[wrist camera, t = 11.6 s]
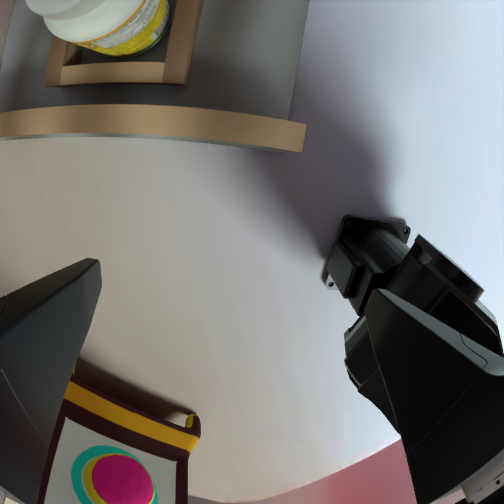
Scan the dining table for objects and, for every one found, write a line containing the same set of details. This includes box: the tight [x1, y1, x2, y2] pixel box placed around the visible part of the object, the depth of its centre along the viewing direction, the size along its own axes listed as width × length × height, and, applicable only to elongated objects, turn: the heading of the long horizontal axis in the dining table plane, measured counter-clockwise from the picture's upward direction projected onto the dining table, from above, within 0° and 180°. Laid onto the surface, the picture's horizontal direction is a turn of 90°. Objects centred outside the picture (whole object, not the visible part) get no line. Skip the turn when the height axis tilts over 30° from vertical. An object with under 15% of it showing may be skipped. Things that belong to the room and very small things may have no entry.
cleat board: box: [0, 0, 309, 153], centre depth 13 cm, size 22×14×6 cm, turn 81°
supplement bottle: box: [26, 0, 171, 58], centre depth 10 cm, size 5×5×10 cm
